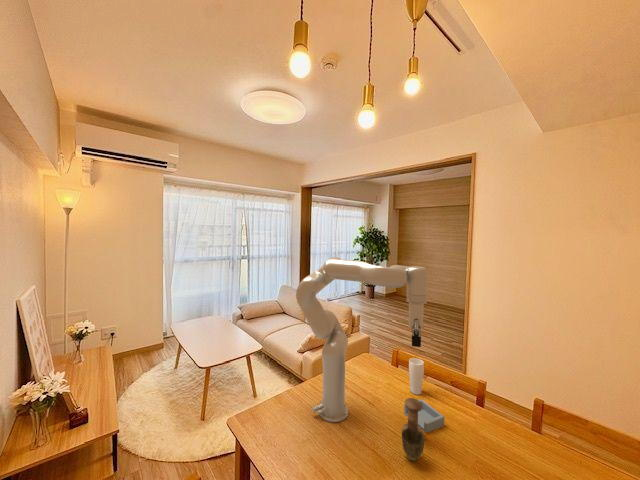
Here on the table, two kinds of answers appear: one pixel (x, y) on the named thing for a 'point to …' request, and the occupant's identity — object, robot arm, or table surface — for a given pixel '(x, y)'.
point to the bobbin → (412, 414)
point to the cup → (413, 443)
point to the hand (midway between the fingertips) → (416, 341)
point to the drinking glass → (416, 375)
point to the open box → (428, 417)
